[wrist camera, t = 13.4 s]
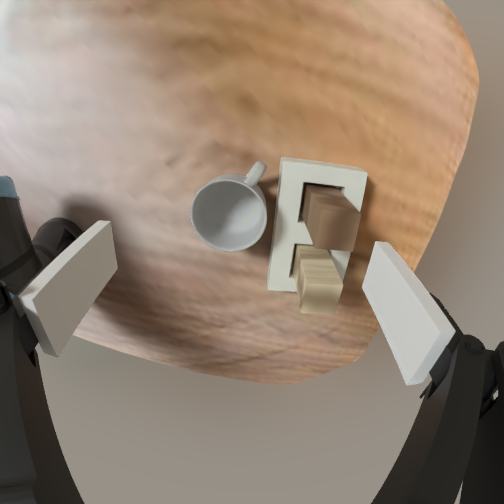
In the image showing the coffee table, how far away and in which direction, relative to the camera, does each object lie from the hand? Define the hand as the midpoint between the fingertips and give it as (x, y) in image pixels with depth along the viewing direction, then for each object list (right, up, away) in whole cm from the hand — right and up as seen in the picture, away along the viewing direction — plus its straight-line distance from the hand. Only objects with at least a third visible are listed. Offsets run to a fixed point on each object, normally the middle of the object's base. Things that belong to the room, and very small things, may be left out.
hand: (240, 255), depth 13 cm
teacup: (-1, +10, +32) cm, 34 cm away
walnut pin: (+11, +9, +32) cm, 35 cm away
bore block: (+11, +5, +34) cm, 36 cm away
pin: (+10, 0, +36) cm, 37 cm away
